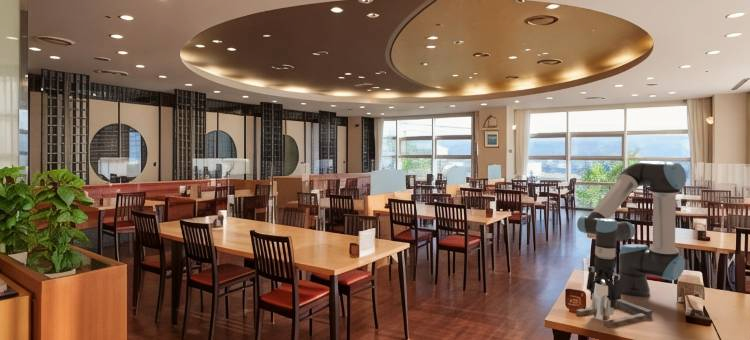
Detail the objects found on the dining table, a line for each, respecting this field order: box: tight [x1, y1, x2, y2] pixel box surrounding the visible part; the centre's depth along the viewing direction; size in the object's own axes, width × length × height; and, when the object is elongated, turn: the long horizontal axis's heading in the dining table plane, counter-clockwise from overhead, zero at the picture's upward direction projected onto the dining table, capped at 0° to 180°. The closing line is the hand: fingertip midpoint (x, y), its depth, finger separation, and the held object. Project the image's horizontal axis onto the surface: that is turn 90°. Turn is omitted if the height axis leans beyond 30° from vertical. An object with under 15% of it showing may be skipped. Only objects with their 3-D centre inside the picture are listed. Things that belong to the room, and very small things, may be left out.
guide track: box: [575, 298, 653, 329], centre depth 183 cm, size 26×15×3 cm, turn 114°
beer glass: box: [593, 280, 611, 322], centre depth 179 cm, size 7×7×15 cm
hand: (602, 311), depth 180 cm, fingers closed on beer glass, 7 cm apart
